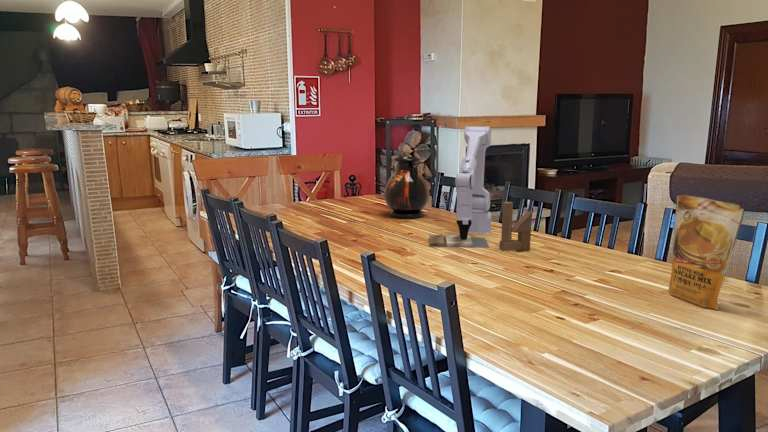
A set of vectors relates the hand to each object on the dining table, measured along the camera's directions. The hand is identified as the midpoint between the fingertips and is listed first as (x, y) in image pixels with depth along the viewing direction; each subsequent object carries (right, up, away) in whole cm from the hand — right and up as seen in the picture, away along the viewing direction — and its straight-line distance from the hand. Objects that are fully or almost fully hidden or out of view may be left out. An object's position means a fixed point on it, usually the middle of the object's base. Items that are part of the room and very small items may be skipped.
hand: (463, 239), depth 221 cm
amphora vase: (-20, +9, +57) cm, 61 cm away
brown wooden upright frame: (+17, -4, -9) cm, 20 cm away
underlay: (-2, -2, +1) cm, 3 cm away
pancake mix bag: (+54, -14, -64) cm, 85 cm away
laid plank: (-10, -2, +1) cm, 10 cm away
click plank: (-2, -1, 0) cm, 2 cm away
